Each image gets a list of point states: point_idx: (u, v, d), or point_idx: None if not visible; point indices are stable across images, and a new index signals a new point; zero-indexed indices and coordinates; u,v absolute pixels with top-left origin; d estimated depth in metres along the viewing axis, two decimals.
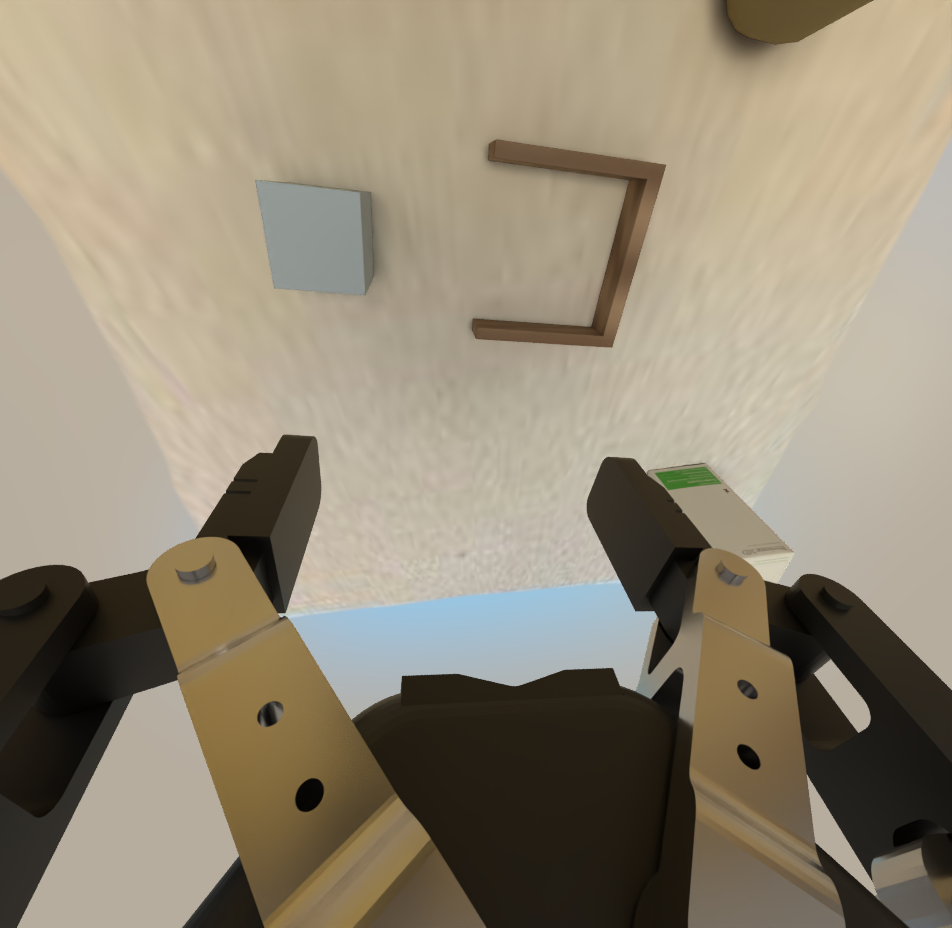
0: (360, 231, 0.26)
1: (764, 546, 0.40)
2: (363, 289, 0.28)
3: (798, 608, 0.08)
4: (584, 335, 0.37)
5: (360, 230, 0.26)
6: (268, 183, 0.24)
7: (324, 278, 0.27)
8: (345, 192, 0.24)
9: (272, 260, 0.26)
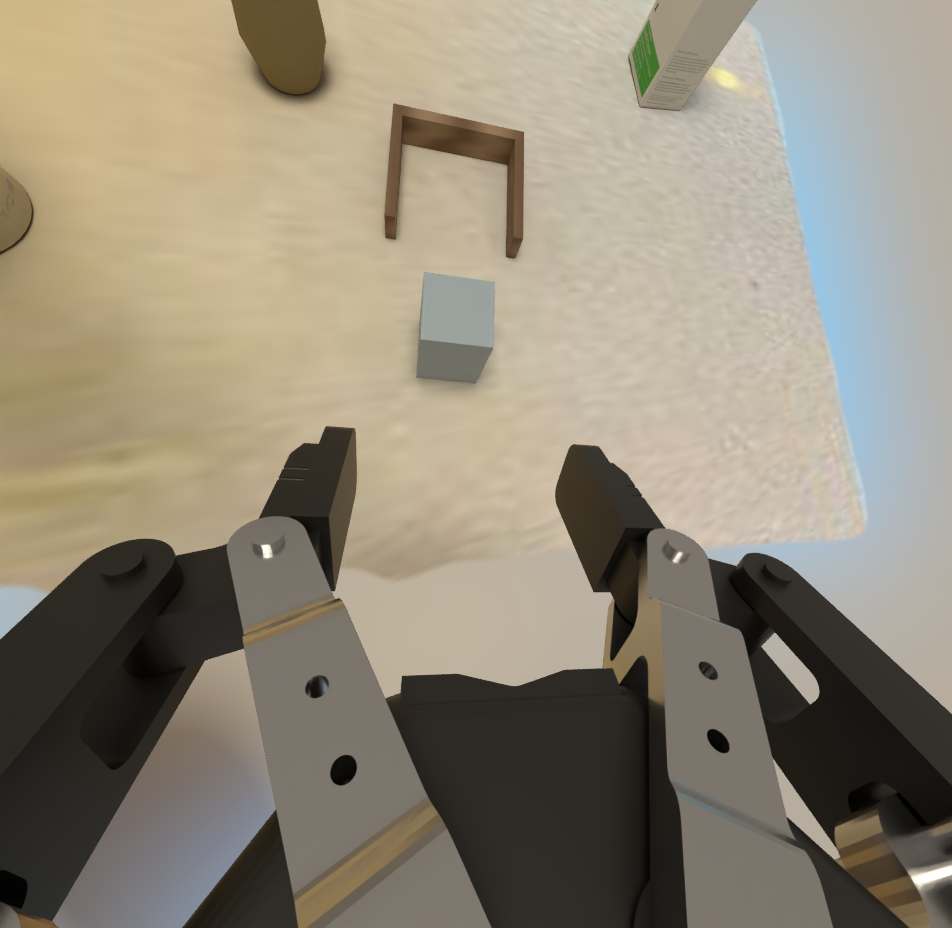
0: (449, 276, 0.33)
1: None
2: (490, 282, 0.34)
3: (744, 589, 0.08)
4: (515, 154, 0.42)
5: (448, 276, 0.33)
6: (422, 331, 0.32)
7: (483, 309, 0.33)
8: (424, 281, 0.32)
9: (473, 343, 0.32)
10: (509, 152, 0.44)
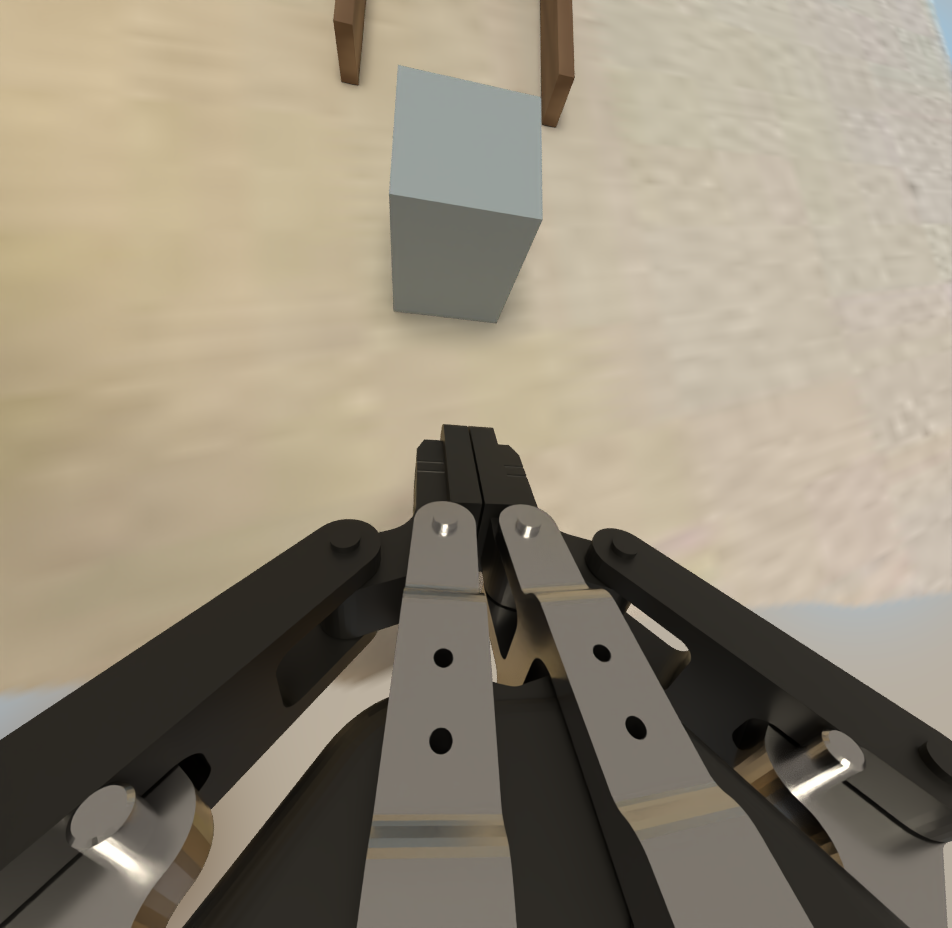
0: (450, 78, 0.16)
1: None
2: (532, 97, 0.17)
3: (603, 575, 0.08)
4: None
5: (448, 77, 0.16)
6: (392, 178, 0.15)
7: (520, 145, 0.16)
8: (399, 82, 0.16)
9: (500, 208, 0.15)
10: None
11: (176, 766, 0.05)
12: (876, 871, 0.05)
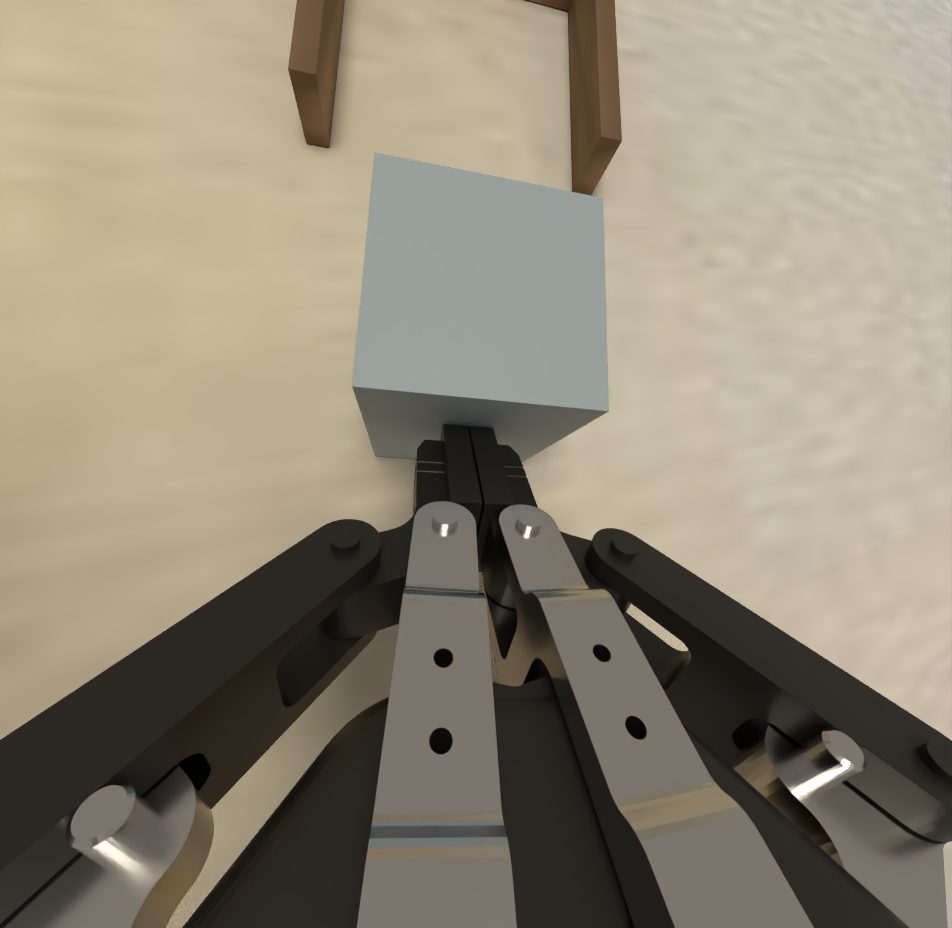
0: (459, 172, 0.10)
1: None
2: (589, 198, 0.11)
3: (603, 575, 0.07)
4: None
5: (457, 171, 0.10)
6: (359, 356, 0.09)
7: (572, 281, 0.10)
8: (375, 183, 0.09)
9: (541, 396, 0.09)
10: None
11: (176, 766, 0.05)
12: (876, 870, 0.05)
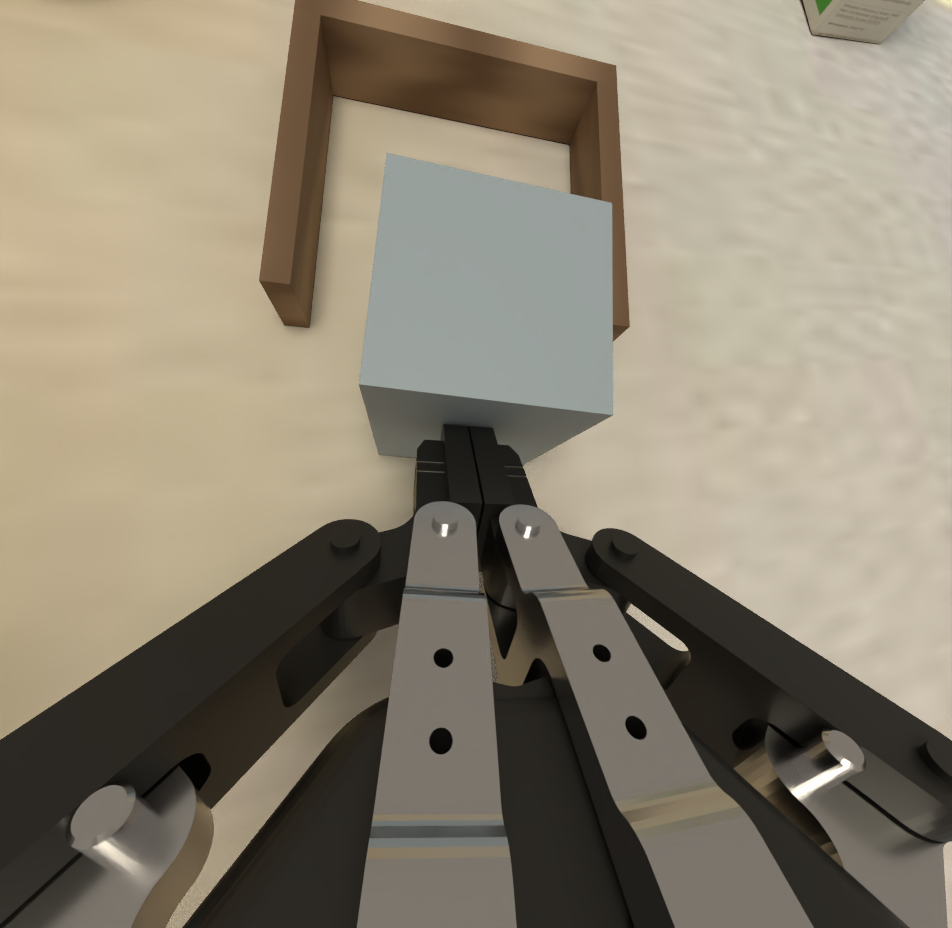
0: (470, 174, 0.10)
1: None
2: (599, 203, 0.11)
3: (603, 575, 0.07)
4: (600, 116, 0.18)
5: (468, 173, 0.10)
6: (367, 355, 0.09)
7: (579, 285, 0.10)
8: (386, 183, 0.10)
9: (546, 398, 0.09)
10: (578, 115, 0.19)
11: (176, 766, 0.05)
12: (876, 871, 0.05)
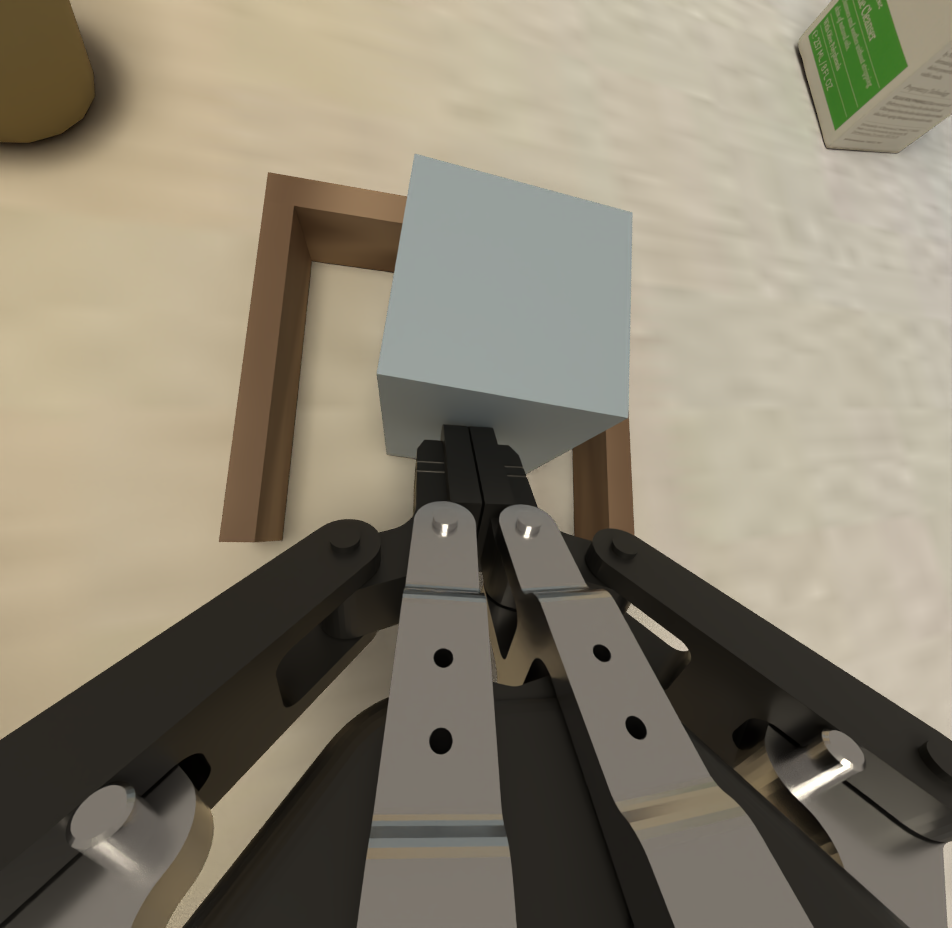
0: (495, 178, 0.10)
1: None
2: (619, 212, 0.11)
3: (603, 575, 0.07)
4: None
5: (493, 177, 0.10)
6: (385, 345, 0.09)
7: (598, 289, 0.10)
8: (413, 181, 0.10)
9: (562, 398, 0.09)
10: None
11: (176, 766, 0.05)
12: (876, 871, 0.05)
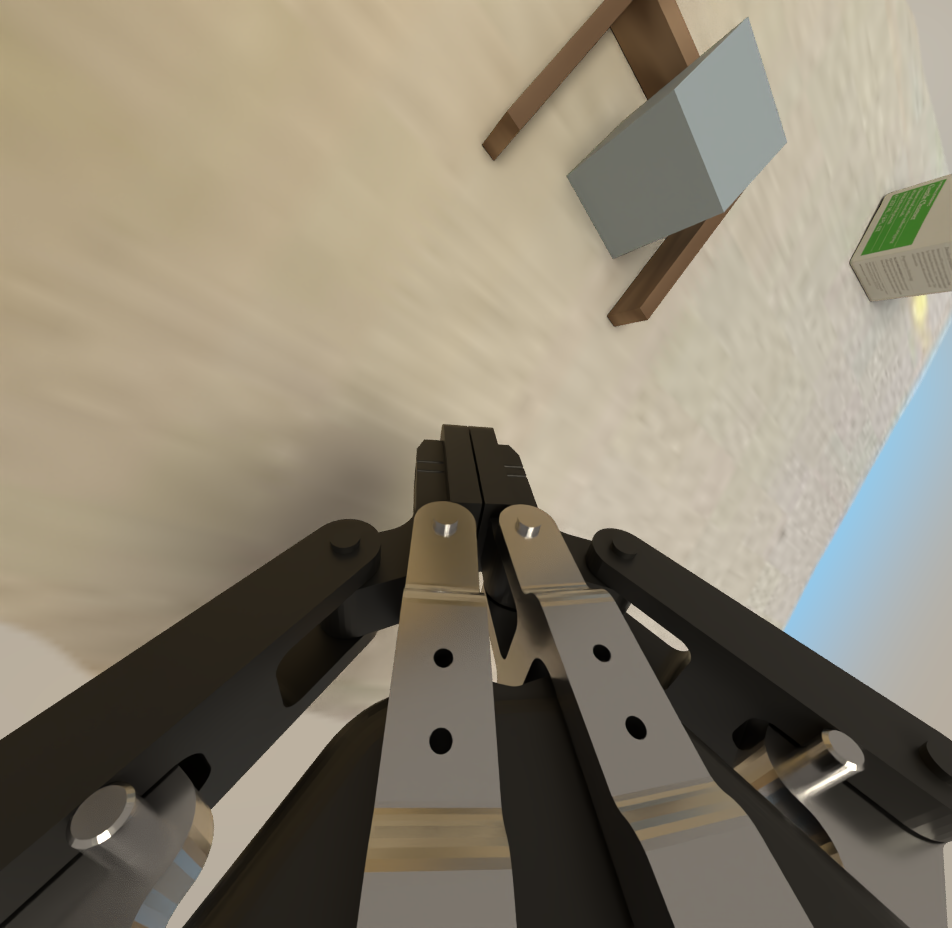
0: (762, 64, 0.20)
1: None
2: (783, 136, 0.21)
3: (603, 575, 0.07)
4: None
5: (761, 63, 0.19)
6: (683, 82, 0.18)
7: (753, 155, 0.20)
8: (738, 28, 0.19)
9: (713, 177, 0.19)
10: None
11: (176, 766, 0.05)
12: (876, 870, 0.05)
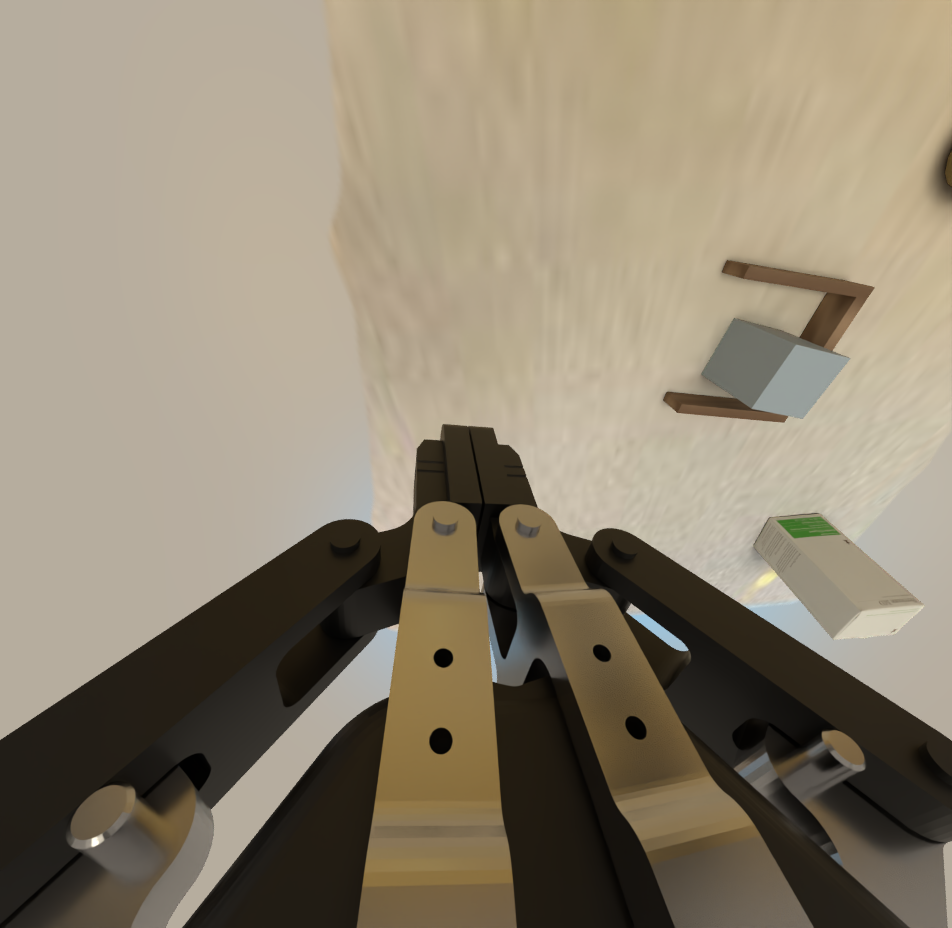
0: (832, 380, 0.35)
1: (896, 597, 0.46)
2: (804, 415, 0.37)
3: (603, 575, 0.08)
4: (764, 412, 0.42)
5: (832, 380, 0.35)
6: (801, 347, 0.33)
7: (787, 405, 0.36)
8: (842, 357, 0.34)
9: (765, 391, 0.35)
10: None
11: (176, 766, 0.05)
12: (876, 871, 0.05)
